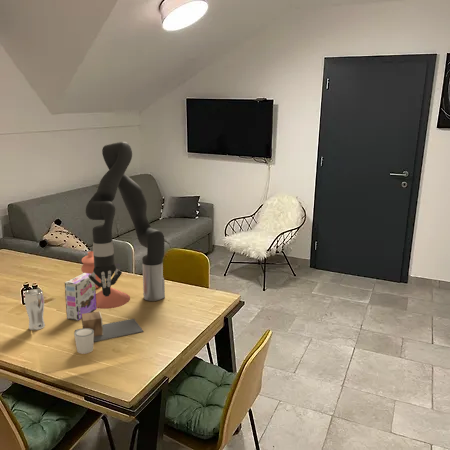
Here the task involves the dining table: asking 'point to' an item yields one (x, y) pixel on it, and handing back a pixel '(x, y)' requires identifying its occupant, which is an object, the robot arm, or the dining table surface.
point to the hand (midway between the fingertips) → (106, 295)
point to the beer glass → (35, 308)
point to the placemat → (118, 329)
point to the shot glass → (84, 340)
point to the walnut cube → (93, 322)
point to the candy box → (80, 296)
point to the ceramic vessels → (102, 302)
